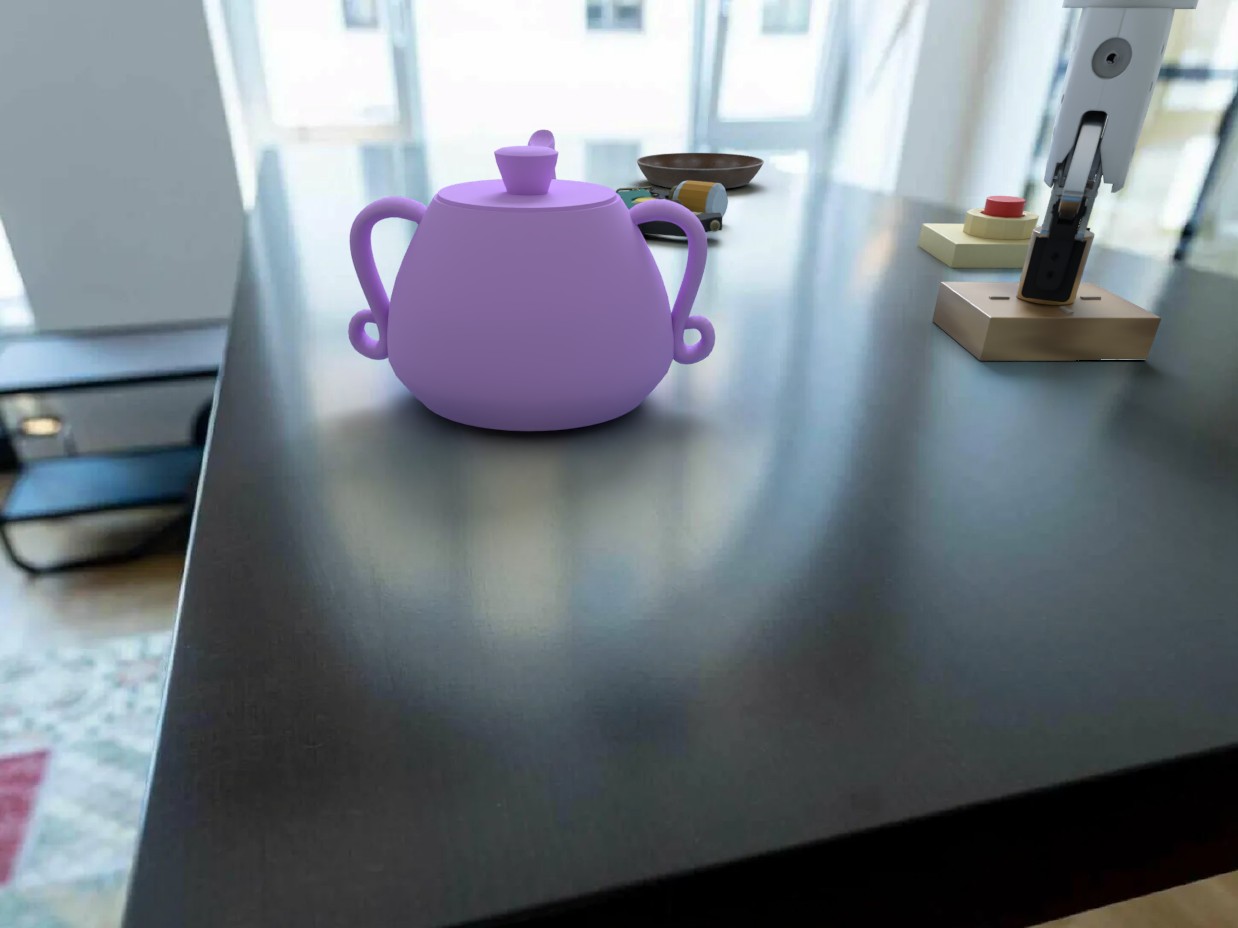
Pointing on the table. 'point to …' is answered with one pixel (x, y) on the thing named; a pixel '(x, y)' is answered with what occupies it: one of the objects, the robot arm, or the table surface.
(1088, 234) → the dial knob
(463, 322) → the purple sugar bowl
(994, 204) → the button
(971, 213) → the button box
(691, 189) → the spray gun
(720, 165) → the plant saucer
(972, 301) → the panel
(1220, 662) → the table surface
